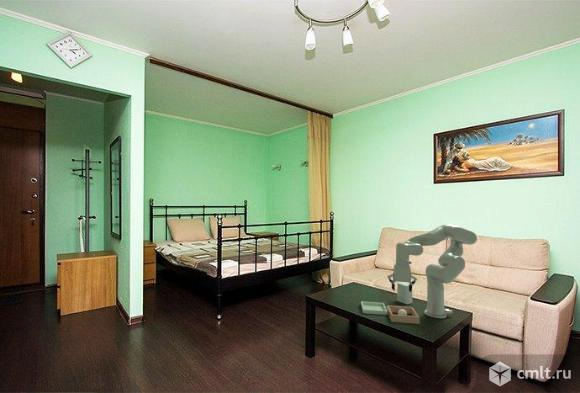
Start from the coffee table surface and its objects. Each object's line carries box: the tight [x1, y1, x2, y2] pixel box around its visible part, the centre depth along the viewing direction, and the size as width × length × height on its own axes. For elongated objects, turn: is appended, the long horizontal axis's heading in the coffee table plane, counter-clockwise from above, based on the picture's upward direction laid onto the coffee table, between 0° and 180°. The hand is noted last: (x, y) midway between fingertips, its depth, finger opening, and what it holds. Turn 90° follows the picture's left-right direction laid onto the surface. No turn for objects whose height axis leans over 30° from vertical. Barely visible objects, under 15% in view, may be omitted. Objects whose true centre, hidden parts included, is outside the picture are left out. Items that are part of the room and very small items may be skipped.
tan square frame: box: [386, 305, 420, 325], centre depth 171 cm, size 16×16×4 cm
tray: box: [360, 300, 389, 316], centre depth 183 cm, size 15×15×2 cm
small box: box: [396, 282, 413, 305], centre depth 198 cm, size 8×6×13 cm
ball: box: [397, 309, 408, 316], centre depth 171 cm, size 5×5×5 cm
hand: (401, 290), depth 171 cm, fingers open, 9 cm apart
